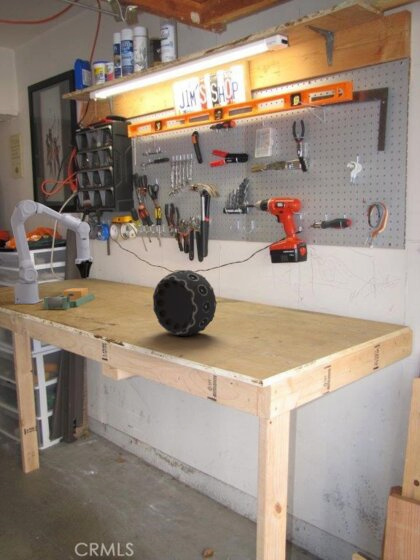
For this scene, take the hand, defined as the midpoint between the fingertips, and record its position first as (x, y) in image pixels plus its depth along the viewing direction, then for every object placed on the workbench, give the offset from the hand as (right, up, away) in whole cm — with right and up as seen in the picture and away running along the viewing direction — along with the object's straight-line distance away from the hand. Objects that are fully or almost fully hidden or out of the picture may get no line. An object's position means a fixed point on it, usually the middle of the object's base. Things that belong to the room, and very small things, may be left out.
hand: (85, 277), depth 233 cm
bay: (-3, -11, -17) cm, 21 cm away
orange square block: (-2, -10, -9) cm, 14 cm away
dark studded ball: (+50, -18, -74) cm, 91 cm away
